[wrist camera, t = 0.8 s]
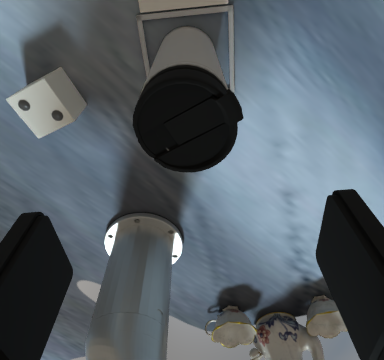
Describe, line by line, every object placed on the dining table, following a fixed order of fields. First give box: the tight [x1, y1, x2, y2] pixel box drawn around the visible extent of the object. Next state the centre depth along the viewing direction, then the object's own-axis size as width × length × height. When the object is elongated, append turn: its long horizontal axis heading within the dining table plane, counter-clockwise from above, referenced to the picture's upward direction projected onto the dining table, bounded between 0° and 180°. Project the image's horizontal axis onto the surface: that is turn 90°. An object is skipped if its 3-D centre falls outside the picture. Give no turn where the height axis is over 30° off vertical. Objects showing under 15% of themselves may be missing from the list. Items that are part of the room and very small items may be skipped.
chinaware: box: [205, 295, 347, 360], centre depth 56 cm, size 28×17×17 cm, turn 106°
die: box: [6, 67, 87, 139], centre depth 34 cm, size 5×5×5 cm
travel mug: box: [133, 26, 243, 172], centre depth 25 cm, size 6×7×20 cm
